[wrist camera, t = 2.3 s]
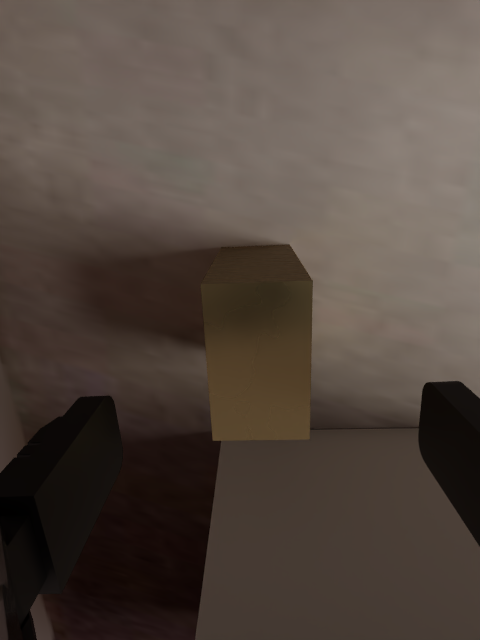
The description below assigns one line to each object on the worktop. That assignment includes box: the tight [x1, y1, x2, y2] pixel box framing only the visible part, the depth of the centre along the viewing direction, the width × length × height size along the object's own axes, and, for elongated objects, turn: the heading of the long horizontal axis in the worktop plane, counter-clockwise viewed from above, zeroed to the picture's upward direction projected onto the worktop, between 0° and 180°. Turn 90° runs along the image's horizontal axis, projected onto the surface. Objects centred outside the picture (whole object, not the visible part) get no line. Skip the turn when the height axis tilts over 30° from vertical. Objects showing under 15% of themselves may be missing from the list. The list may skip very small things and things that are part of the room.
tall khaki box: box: [201, 245, 313, 441], centre depth 14 cm, size 5×3×7 cm, turn 2°
